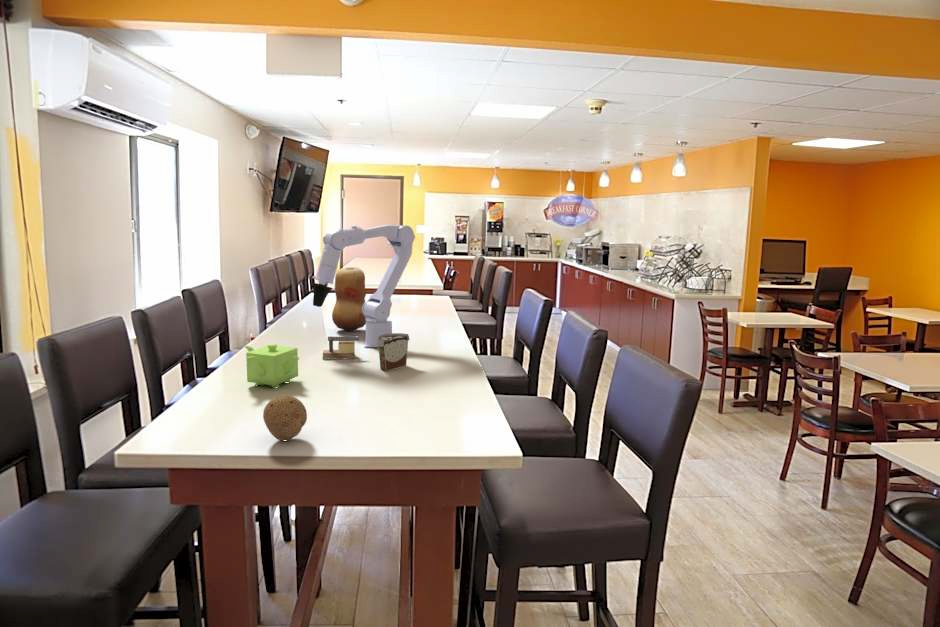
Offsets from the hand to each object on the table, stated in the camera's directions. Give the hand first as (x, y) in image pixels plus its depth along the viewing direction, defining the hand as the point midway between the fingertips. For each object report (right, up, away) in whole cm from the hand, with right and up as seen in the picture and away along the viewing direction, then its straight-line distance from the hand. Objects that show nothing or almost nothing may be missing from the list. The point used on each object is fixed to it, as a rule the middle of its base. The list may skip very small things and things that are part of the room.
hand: (317, 306), depth 210 cm
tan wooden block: (+10, -15, -1) cm, 18 cm away
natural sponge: (+11, -30, -72) cm, 79 cm away
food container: (+25, -19, -12) cm, 34 cm away
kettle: (-5, -22, -32) cm, 39 cm away
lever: (+9, -11, -2) cm, 15 cm away
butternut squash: (+4, -10, +40) cm, 41 cm away
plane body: (+8, -17, -1) cm, 18 cm away
